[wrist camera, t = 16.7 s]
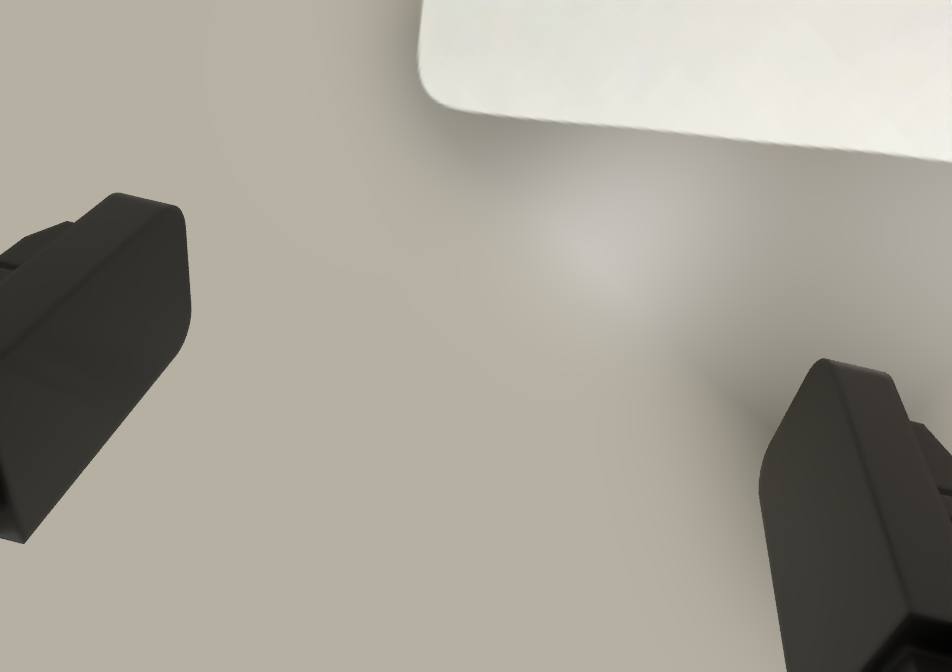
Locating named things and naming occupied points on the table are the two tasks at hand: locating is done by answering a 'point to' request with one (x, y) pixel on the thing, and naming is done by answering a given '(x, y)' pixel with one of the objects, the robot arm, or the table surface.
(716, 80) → the table surface
